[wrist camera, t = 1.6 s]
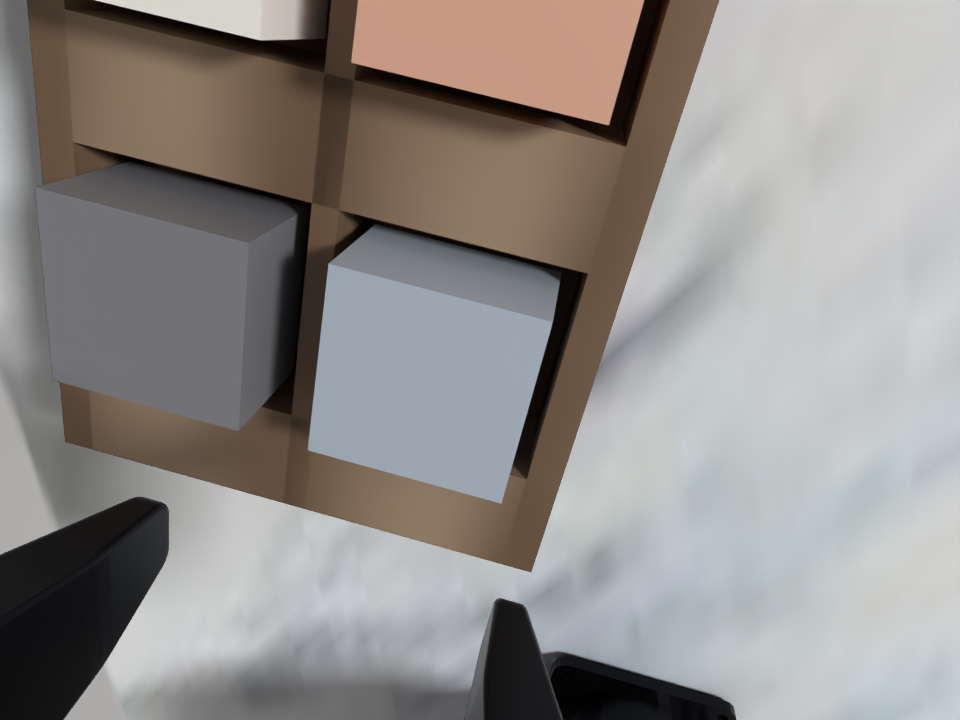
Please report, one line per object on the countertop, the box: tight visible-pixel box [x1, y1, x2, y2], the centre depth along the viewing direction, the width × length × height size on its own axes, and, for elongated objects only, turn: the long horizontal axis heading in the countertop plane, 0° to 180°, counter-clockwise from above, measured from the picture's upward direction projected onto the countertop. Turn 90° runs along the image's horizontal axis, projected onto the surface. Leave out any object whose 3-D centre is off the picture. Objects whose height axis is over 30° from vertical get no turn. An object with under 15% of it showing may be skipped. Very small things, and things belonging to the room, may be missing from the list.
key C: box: [308, 224, 562, 503], centre depth 15 cm, size 4×4×3 cm
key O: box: [35, 161, 309, 431], centre depth 16 cm, size 4×4×3 cm
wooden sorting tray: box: [27, 0, 719, 572], centre depth 16 cm, size 13×19×4 cm
